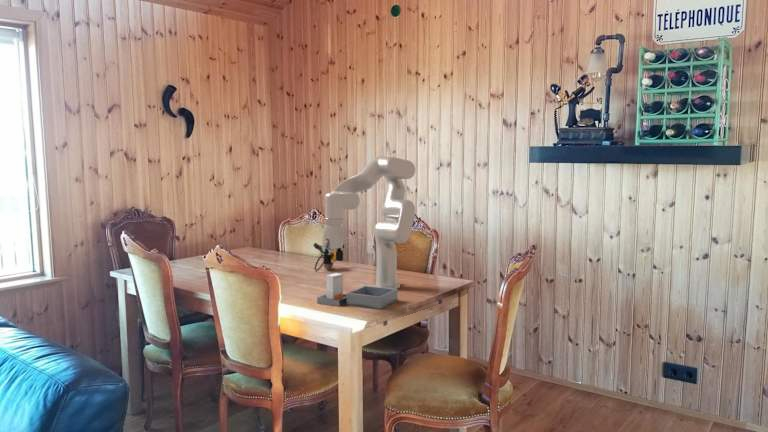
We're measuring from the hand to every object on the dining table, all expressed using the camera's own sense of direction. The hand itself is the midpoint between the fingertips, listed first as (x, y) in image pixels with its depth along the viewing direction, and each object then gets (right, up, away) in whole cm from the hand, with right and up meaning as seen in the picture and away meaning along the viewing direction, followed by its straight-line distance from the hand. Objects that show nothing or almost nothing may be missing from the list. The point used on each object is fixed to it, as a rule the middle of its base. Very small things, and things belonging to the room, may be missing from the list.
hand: (333, 262), depth 262 cm
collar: (0, -17, +2) cm, 17 cm away
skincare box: (0, -17, +2) cm, 18 cm away
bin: (+16, -17, +1) cm, 24 cm away
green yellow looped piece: (-9, -10, +70) cm, 72 cm away
